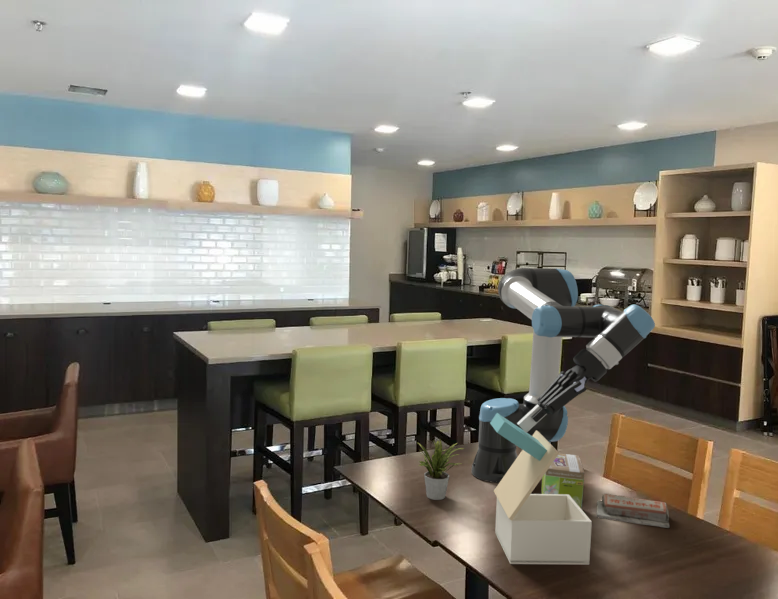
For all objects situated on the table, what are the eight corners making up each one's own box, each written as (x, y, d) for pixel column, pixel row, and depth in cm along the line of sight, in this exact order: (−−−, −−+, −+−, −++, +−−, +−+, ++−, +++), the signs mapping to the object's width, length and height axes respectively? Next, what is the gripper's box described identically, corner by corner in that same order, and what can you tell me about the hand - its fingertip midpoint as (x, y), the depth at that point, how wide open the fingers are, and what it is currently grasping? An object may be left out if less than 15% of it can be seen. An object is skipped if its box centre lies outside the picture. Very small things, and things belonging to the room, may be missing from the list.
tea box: (581, 528, 167) (585, 472, 166) (541, 524, 169) (544, 468, 168) (577, 506, 182) (580, 453, 181) (539, 502, 184) (542, 450, 183)
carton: (566, 533, 164) (568, 494, 163) (589, 564, 148) (591, 521, 147) (495, 532, 163) (497, 493, 162) (510, 563, 147) (512, 520, 146)
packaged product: (667, 498, 178) (670, 512, 169) (665, 515, 178) (669, 530, 169) (597, 488, 183) (597, 501, 174) (596, 505, 184) (596, 519, 174)
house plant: (473, 504, 180) (475, 446, 179) (426, 510, 175) (429, 450, 174) (450, 486, 193) (453, 432, 192) (407, 491, 189) (409, 435, 187)
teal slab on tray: (538, 431, 162) (496, 403, 160) (559, 453, 145) (512, 421, 144) (496, 492, 162) (453, 465, 161) (511, 520, 146) (464, 489, 145)
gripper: (618, 376, 146) (540, 448, 147) (596, 365, 159) (524, 431, 160) (596, 351, 145) (517, 424, 146) (576, 343, 159) (504, 409, 159)
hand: (521, 428), depth 153 cm, fingers closed
